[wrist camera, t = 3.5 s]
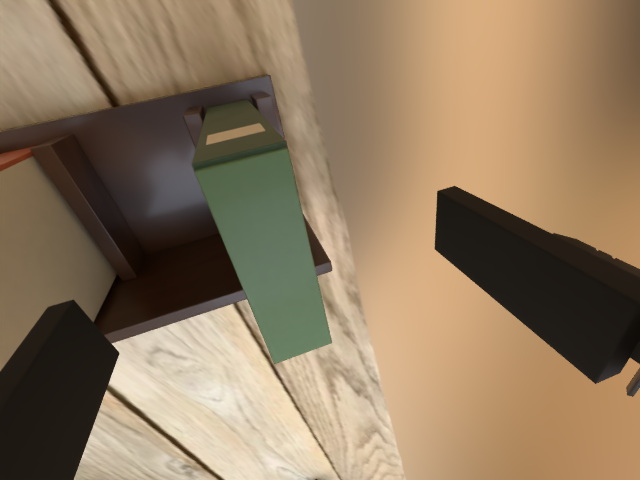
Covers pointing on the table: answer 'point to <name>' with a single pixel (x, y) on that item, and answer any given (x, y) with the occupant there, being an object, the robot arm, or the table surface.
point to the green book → (262, 226)
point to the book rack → (149, 201)
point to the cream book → (42, 252)
